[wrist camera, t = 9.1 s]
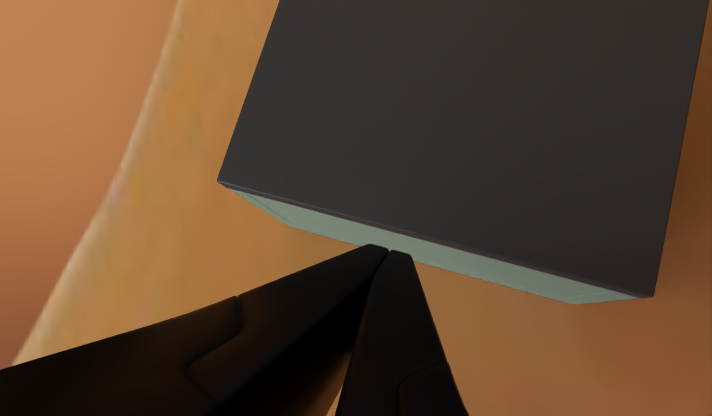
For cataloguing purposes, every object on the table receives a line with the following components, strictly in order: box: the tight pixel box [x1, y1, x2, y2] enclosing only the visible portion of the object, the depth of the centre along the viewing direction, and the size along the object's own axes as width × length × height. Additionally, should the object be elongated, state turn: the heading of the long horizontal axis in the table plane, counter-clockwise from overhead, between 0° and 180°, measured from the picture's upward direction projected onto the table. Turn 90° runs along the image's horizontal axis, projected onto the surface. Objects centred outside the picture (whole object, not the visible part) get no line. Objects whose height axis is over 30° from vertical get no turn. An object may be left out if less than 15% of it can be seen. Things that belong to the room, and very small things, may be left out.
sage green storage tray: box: [230, 189, 638, 304], centre depth 19 cm, size 12×12×7 cm
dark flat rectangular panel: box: [217, 0, 709, 298], centre depth 15 cm, size 13×12×1 cm
